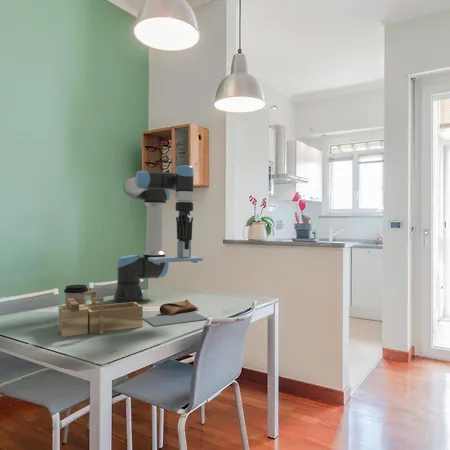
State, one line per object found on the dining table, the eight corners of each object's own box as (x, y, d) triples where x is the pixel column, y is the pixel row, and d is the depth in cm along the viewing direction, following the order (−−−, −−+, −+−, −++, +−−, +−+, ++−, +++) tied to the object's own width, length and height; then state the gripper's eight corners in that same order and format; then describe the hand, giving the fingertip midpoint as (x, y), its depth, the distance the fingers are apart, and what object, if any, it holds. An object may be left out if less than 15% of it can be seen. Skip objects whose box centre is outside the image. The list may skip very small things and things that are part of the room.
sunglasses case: (172, 314, 172) (167, 300, 174) (163, 321, 176) (157, 307, 178) (200, 308, 186) (194, 295, 188) (190, 314, 190) (185, 301, 192)
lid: (147, 262, 167) (147, 241, 167) (192, 260, 177) (192, 240, 177) (155, 265, 158) (156, 242, 158) (202, 263, 168) (202, 241, 168)
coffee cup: (67, 320, 165) (68, 284, 165) (91, 319, 166) (91, 284, 166) (60, 326, 155) (60, 288, 155) (85, 325, 156) (85, 288, 156)
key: (65, 303, 154) (65, 297, 154) (72, 302, 155) (72, 296, 155) (71, 311, 140) (71, 305, 140) (79, 311, 141) (79, 304, 141)
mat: (143, 318, 168) (143, 317, 168) (194, 312, 180) (194, 312, 180) (153, 326, 156) (153, 325, 156) (208, 319, 168) (208, 318, 168)
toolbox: (57, 328, 152) (58, 294, 152) (133, 319, 167) (133, 288, 166) (63, 338, 139) (63, 301, 139) (144, 328, 153) (144, 294, 153)
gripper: (169, 202, 174) (169, 255, 175) (183, 200, 160) (183, 258, 160) (185, 202, 178) (184, 254, 178) (200, 201, 164) (199, 257, 164)
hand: (184, 256), depth 169 cm, fingers closed on lid, 3 cm apart
